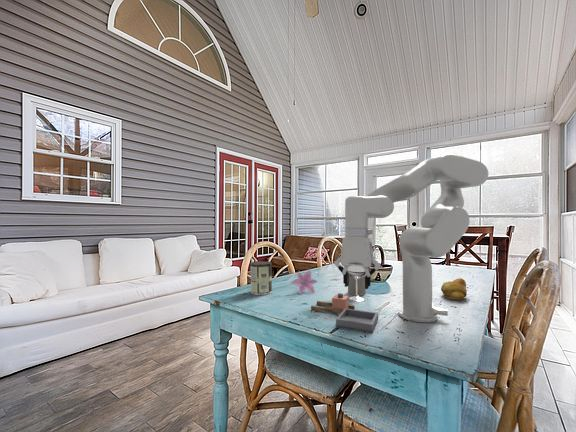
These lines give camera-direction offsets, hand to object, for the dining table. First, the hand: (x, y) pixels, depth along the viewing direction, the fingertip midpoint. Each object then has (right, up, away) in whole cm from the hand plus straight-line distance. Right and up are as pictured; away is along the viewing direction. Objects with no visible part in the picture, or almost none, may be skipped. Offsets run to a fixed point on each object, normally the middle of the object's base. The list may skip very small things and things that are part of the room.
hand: (356, 286), depth 94 cm
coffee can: (-36, -13, +41) cm, 56 cm away
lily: (-15, -13, +40) cm, 45 cm away
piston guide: (-6, -12, +13) cm, 19 cm away
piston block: (-3, -12, +13) cm, 18 cm away
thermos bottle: (+9, -12, +37) cm, 40 cm away
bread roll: (+49, -12, +28) cm, 58 cm away
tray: (0, -12, 0) cm, 12 cm away
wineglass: (0, -4, 0) cm, 4 cm away
